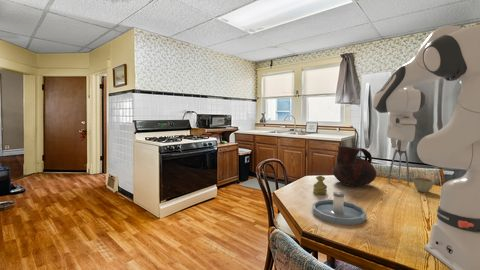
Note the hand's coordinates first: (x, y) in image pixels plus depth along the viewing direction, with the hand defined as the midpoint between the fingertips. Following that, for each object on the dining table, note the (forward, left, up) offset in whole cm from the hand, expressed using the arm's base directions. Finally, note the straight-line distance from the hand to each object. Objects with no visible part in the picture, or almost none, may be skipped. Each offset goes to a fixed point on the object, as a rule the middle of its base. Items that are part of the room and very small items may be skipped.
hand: (398, 149), depth 112 cm
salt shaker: (+17, +32, -29) cm, 47 cm away
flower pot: (+35, -28, -29) cm, 54 cm away
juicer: (+49, -22, -29) cm, 61 cm away
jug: (+40, +9, -29) cm, 50 cm away
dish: (-11, +27, -29) cm, 41 cm away
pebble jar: (-11, +27, -28) cm, 40 cm away
